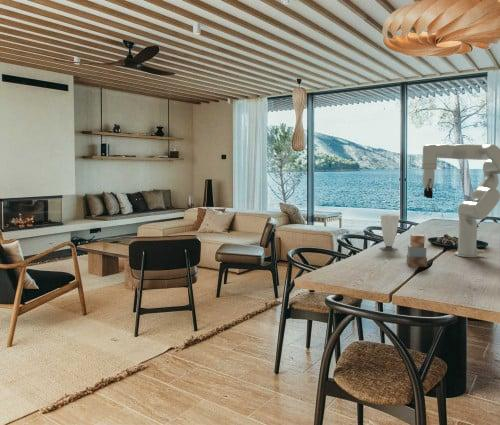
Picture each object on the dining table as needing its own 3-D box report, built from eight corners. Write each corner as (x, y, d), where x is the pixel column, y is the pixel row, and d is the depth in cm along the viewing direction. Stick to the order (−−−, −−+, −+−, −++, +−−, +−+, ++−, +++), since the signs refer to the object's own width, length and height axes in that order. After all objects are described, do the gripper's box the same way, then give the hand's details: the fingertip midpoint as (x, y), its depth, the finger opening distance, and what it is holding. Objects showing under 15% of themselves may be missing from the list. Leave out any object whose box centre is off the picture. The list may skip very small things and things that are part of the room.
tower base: (424, 263, 241) (424, 254, 241) (426, 267, 232) (427, 257, 232) (406, 262, 243) (406, 253, 243) (408, 266, 235) (408, 256, 234)
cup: (375, 248, 286) (376, 214, 283) (391, 247, 289) (392, 213, 287) (386, 251, 275) (387, 216, 273) (402, 250, 278) (403, 215, 276)
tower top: (423, 254, 241) (424, 245, 240) (426, 257, 233) (426, 247, 232) (407, 253, 242) (408, 244, 242) (409, 256, 235) (410, 247, 234)
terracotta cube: (422, 245, 239) (422, 234, 238) (424, 247, 233) (424, 236, 232) (410, 245, 240) (410, 234, 239) (412, 247, 234) (412, 235, 234)
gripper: (420, 166, 261) (419, 196, 263) (424, 166, 244) (423, 198, 246) (434, 166, 259) (432, 196, 261) (439, 166, 243) (437, 198, 244)
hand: (428, 197), depth 254 cm, fingers open, 9 cm apart
